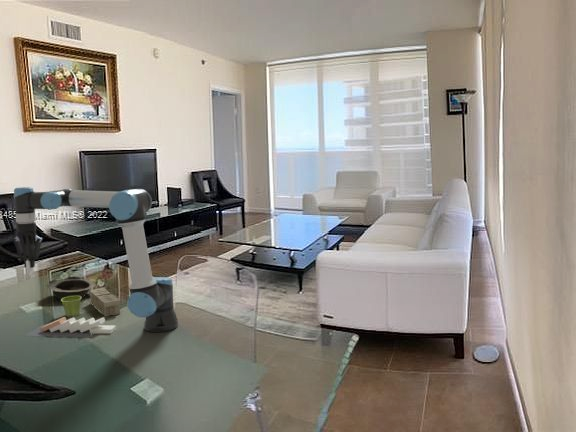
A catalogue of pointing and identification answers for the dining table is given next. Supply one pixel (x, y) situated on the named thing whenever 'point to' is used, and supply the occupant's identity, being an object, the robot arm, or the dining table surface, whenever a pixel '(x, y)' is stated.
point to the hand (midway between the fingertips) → (30, 274)
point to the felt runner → (59, 333)
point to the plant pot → (71, 305)
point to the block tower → (105, 301)
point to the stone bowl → (70, 287)
